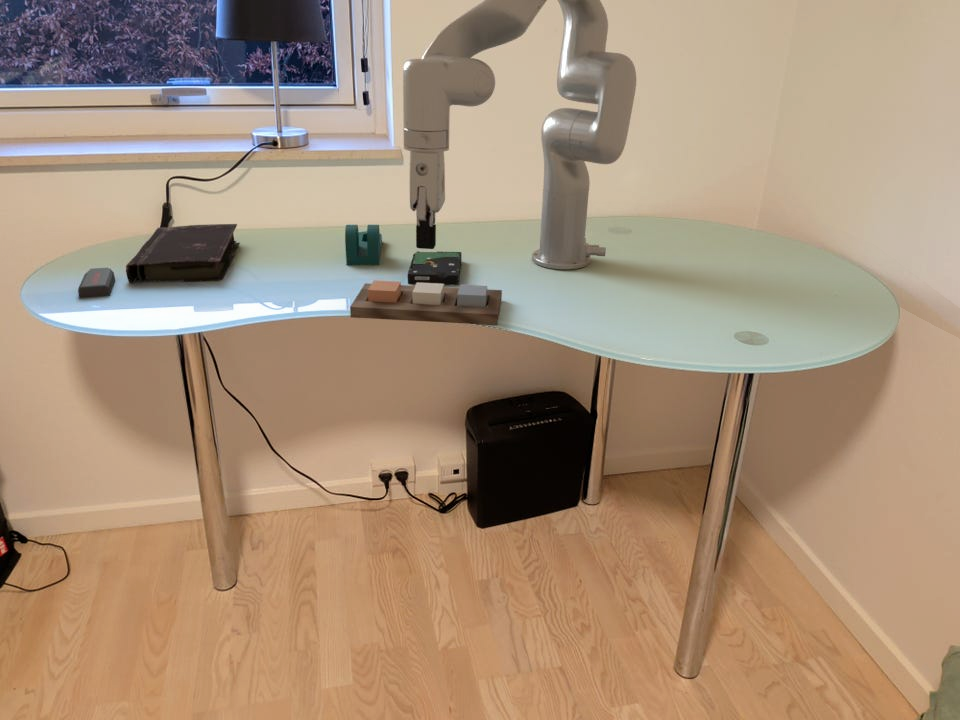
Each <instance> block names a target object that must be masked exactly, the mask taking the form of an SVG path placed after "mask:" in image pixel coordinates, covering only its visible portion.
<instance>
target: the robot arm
mask: <svg viewBox="0 0 960 720" xmlns="http://www.w3.org/2000/svg"><path fill="white" fill-rule="evenodd" d="M547 1H548V0H483V1H482V2H480V3H479V4H477V5H476V6H474V7H472V8H470V10H468V11H467V12H465V13H464V14H462V15H460V16H459V17H458V18H456V19H454V20H453V21H452V22H450V23H449V24H448V25H447V26H445V28H443V29H442V30H440V33H438V34H437V35H436V36H435V38H433V39H434V40H433V41H431V43H430V45H429V46H428V48H427V49H426V50H425V52H424V53H423V55H422V56H421V58H413V59H412V58H411V59H408V60H406V62H405V63H404V65H403V68H402V70H403V71H402V80H403V81H402V84H403V85H402V89H403V90H402V92H403V93H402V94H403V95H402V96H403V97H402V99H403V100H402V101H403V102H402V103H403V104H402V105H403V108H402V109H403V111H402V112H403V117H402V119H403V149H404V150H406V151H409V206H410V207H409V209H411V211H412V212H416V214H415V215H416V225H415V228H416V229H415V232H416V233H415V240H416V241H415V247H416V248H417V249H423V250H426V249H427V250H434V249H435V247H436V245H437V236H436V235H437V234H436V233H437V227H436V226H437V225H436V214H437V213H439V212H440V211H441V210H442V208H443V206H444V204H445V202H446V176H445V175H446V174H445V173H446V171H445V170H446V169H445V168H446V167H445V166H446V164H445V152H447V151H449V150H450V115H451V114H450V113H451V112H450V109H451V108H450V107H451V106H463V107H477V106H480V105H483V104H484V103H486V102H487V101H489V99H490V98H491V97H492V95H493V93H494V91H495V88H496V76H495V74H494V71H493V69H492V68H491V67H490V65H489V64H487V63H486V62H484V61H483V60H481V59H478V58H474V56H476V55H477V54H480V53H481V52H483V51H486V50H489V49H492V48H497V47H500V46H503V45H506V44H507V43H510V42H513V41H514V40H515V41H516V40H517V39H519V38H521V37H522V36H523V35H524V34H525V33H526V32H527V30H528V29H529V27H530V26H531V24H532V23H533V21H534V19H535V18H536V17H537V15H538V14H539V12H540V11H541V9H542V8H543V7H544V5H545V4H546V2H547ZM557 1H558V4H559V6H560V9H561V12H562V16H563V32H562V41H561V47H560V54H559V61H558V67H557V76H556V78H557V79H556V87H557V92H558V94H559V95H560V96H561V97H562V98H564V99H565V100H567V101H571V102H572V101H573V102H577V103H585V104H591V105H597V107H598V108H597V111H591V110H586V109H581V108H572V107H571V108H570V107H563V108H558V109H555V110H553V111H551V112H550V113H549V114H548V115H546V117H545V119H544V120H543V123H542V126H541V131H540V133H541V136H540V137H541V147H542V153H543V186H542V187H543V189H542V201H541V202H542V203H541V219H540V220H541V221H540V237H539V248H538V249H536V250H534V251H533V252H532V254H531V259H532V261H533V263H534V264H537V266H538V265H539V266H541V267H544V268H548V269H552V270H553V269H554V270H577V269H581V268H585V267H587V266H588V265H589V264H590V263H591V256H596V257H606V251H607V250H606V249H607V248H606V246H605V247H603V246H600V244H589V243H587V240H586V229H587V218H588V217H587V215H588V205H589V193H590V192H589V191H590V184H591V183H590V182H591V181H590V174H589V170H588V167H587V165H586V162H588V163H592V164H599V165H611V164H614V163H615V162H617V161H618V160H619V158H620V157H621V156H622V154H623V152H624V149H625V147H626V142H627V140H628V133H629V129H630V124H631V123H630V122H631V117H632V112H633V106H634V101H635V95H636V90H637V89H636V87H637V72H636V67H635V64H634V62H633V60H631V58H630V57H629V56H627V55H625V54H623V53H619V52H612V51H610V52H609V51H606V49H607V48H606V47H607V41H608V31H609V19H608V14H607V12H606V10H605V7H604V5H603V3H602V1H601V0H557Z"/></svg>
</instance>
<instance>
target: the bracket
mask: <svg viewBox="0 0 960 720" xmlns="http://www.w3.org/2000/svg"><path fill="white" fill-rule="evenodd" d="M344 228H345V229H344V230H345V231H344V232H345V233H344V237H345V239H344V242H345V259H346V260H345V263H346V266H380V261H381V255H382V248H383V236H382V233H381V232H380V224H367V229H366V230H365V231H359V227H358V224H346V225H345V227H344Z"/></svg>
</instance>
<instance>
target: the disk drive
mask: <svg viewBox="0 0 960 720" xmlns="http://www.w3.org/2000/svg"><path fill="white" fill-rule="evenodd" d="M462 258H463V257H462V251H442V250H441V251H439V250H437V251H419V250H416V252H414V253H413V254H412V259H411V262H410V265H409V269H408V271H407V284H408V285H416V283H417V282H418V283H438V284H444V286H460V280H461V279H460V278H461V277H460V276H461V268H462Z"/></svg>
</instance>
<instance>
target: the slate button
mask: <svg viewBox="0 0 960 720" xmlns="http://www.w3.org/2000/svg"><path fill="white" fill-rule="evenodd" d="M458 288H459V290H458V293H457V306H468V307H487V305H486V304H487V289H488V285H479V284H478V285H477V284H475V285H474V284H473V285H472V284H459V287H458Z"/></svg>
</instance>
